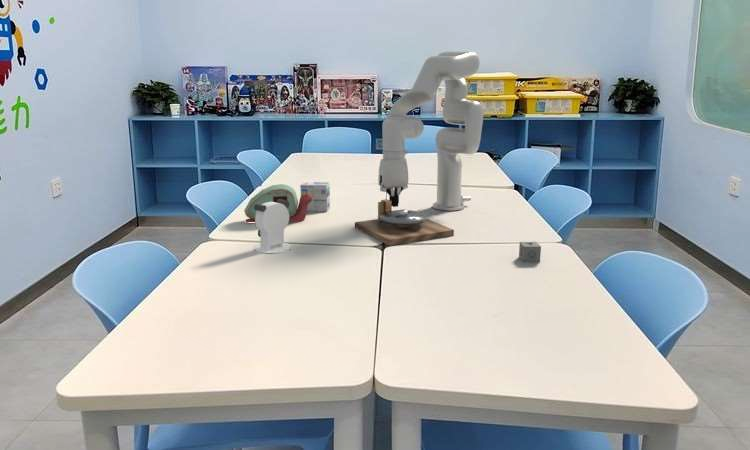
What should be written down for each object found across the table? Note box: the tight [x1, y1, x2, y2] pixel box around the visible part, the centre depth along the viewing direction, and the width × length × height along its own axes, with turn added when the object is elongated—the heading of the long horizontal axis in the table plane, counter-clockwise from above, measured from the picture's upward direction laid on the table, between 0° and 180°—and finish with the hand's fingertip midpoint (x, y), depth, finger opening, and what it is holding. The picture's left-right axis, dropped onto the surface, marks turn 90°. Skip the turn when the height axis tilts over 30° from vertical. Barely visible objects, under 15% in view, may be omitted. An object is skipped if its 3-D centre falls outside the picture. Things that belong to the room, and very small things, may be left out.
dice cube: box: [518, 241, 542, 264], centre depth 193 cm, size 5×5×5 cm
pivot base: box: [354, 201, 455, 247], centre depth 223 cm, size 25×25×9 cm
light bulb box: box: [299, 181, 331, 213], centre depth 254 cm, size 11×7×11 cm, turn 84°
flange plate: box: [380, 198, 428, 225], centre depth 223 cm, size 18×16×5 cm
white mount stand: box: [254, 199, 292, 254], centre depth 204 cm, size 12×11×15 cm
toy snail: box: [243, 183, 313, 223], centre depth 237 cm, size 25×8×14 cm, turn 97°
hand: (394, 205), depth 231 cm, fingers closed
